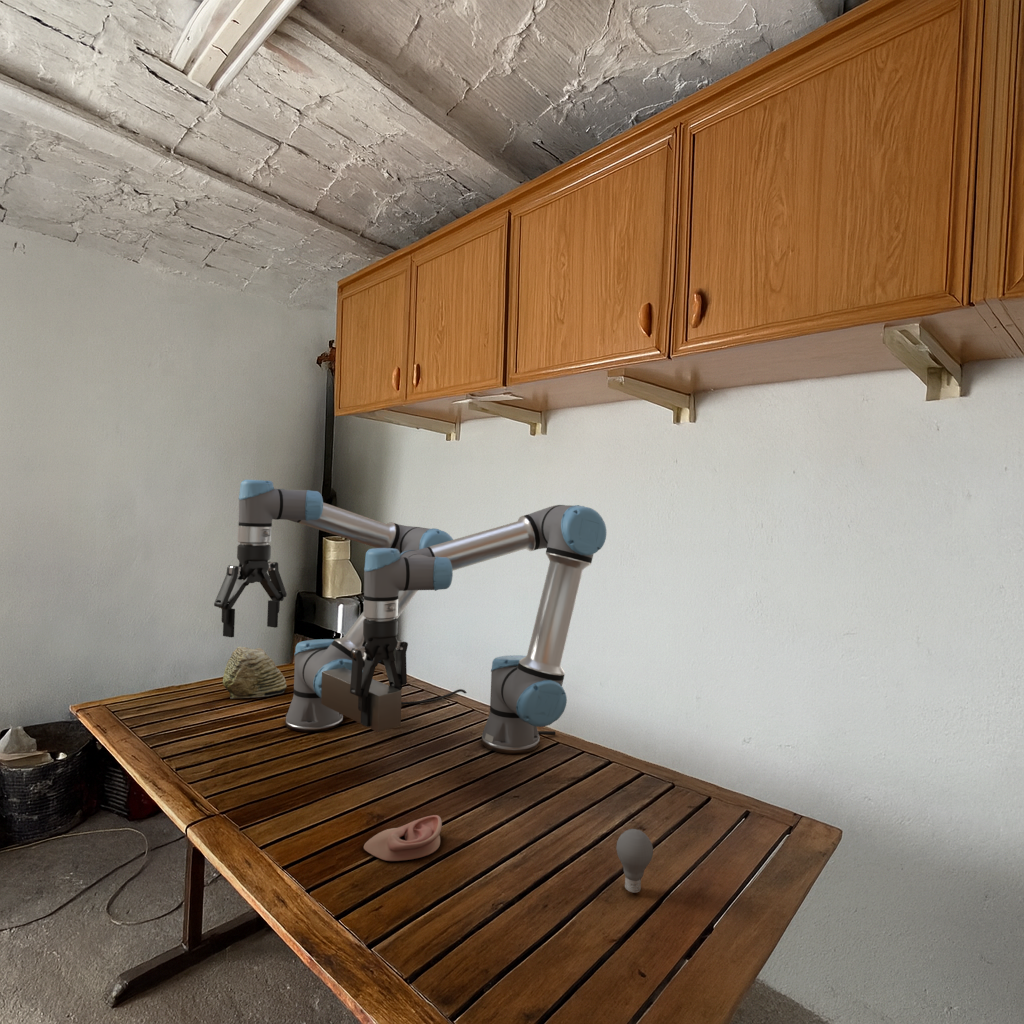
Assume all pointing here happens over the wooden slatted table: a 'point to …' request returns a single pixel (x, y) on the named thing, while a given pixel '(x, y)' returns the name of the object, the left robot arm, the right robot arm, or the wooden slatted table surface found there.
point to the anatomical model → (407, 840)
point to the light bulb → (634, 857)
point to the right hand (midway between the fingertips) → (378, 721)
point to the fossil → (252, 674)
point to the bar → (345, 703)
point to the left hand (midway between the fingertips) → (251, 631)
